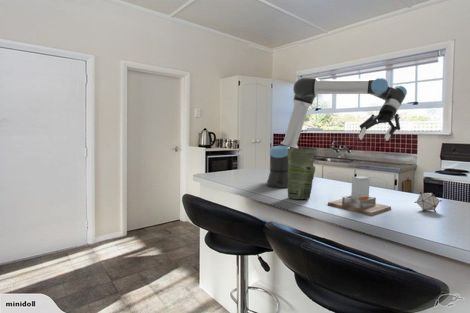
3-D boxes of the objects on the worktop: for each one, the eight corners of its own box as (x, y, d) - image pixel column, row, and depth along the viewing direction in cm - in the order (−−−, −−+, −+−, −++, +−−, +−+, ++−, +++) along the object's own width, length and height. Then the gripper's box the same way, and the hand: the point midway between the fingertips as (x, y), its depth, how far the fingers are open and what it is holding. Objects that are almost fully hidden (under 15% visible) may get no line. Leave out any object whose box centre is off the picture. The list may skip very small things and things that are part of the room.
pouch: (283, 196, 145) (284, 146, 143) (303, 194, 149) (305, 146, 147) (295, 201, 135) (297, 148, 132) (317, 199, 139) (319, 147, 137)
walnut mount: (327, 204, 129) (328, 195, 129) (348, 199, 139) (348, 191, 138) (371, 215, 113) (371, 205, 113) (391, 209, 123) (391, 199, 122)
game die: (426, 218, 123) (434, 198, 125) (441, 217, 115) (449, 195, 117) (407, 207, 124) (415, 187, 126) (420, 205, 116) (429, 184, 118)
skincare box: (357, 206, 123) (359, 178, 122) (350, 203, 127) (351, 176, 126) (368, 205, 125) (370, 177, 124) (361, 202, 129) (362, 176, 128)
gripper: (416, 113, 144) (400, 144, 137) (368, 115, 164) (352, 142, 157) (412, 102, 140) (395, 133, 133) (364, 105, 161) (347, 132, 153)
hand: (372, 138), depth 145 cm, fingers open, 13 cm apart
